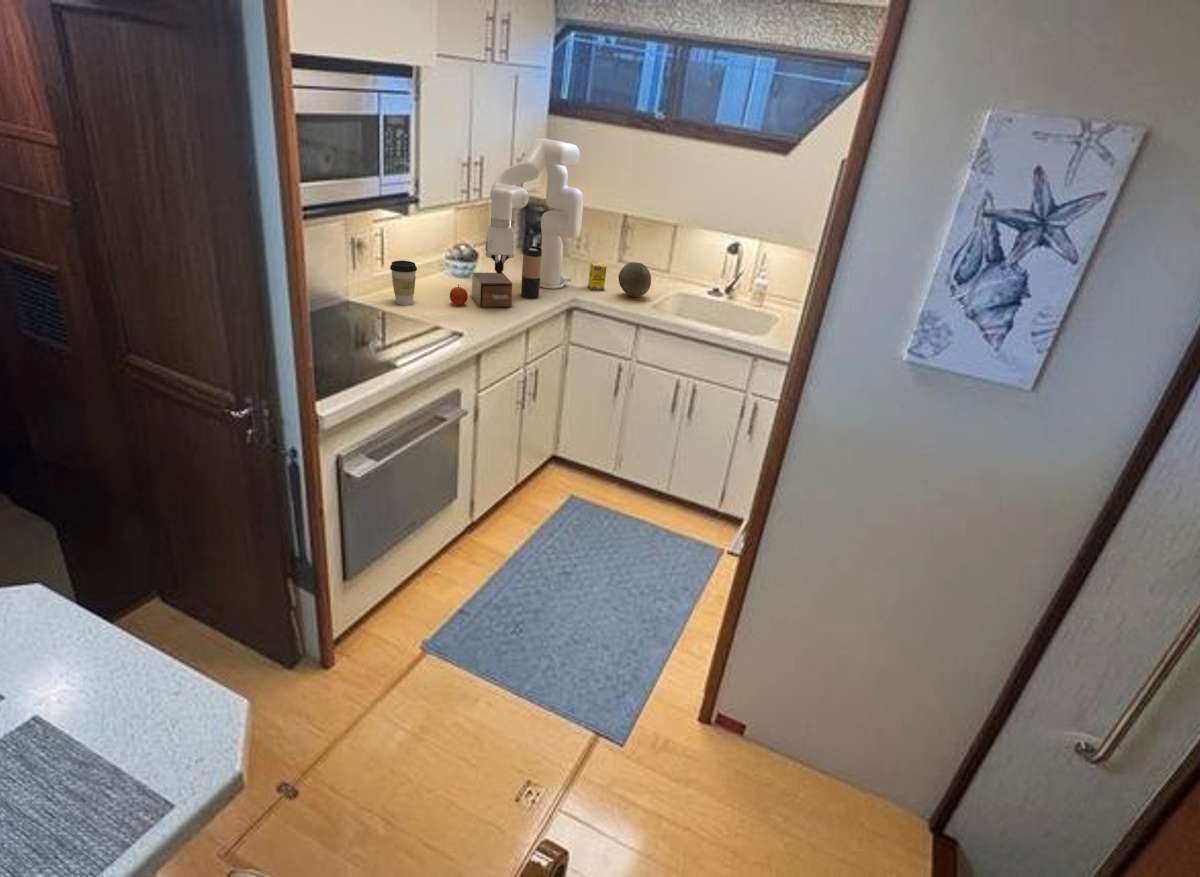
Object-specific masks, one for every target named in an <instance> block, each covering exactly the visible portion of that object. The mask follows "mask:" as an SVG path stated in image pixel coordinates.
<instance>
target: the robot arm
mask: <svg viewBox="0 0 1200 877" xmlns="http://www.w3.org/2000/svg"><path fill="white" fill-rule="evenodd" d="M580 153H581V152H580V149H579V147H578V146H577V145H576V144H573V143H568V142H565V141H562V140H555V139H548V138H544V137H543V138H541V137H540V138H536V139H534V140H533V141H532V143H531V144H530V146H529V147H528V149H527V150H526V152H525V154H524V155H523V156H522V158H521V160H520V162H519V163H516V164H514V165H511V166H510V167H508V168H506V169H505V170H503V171H501V173H499V174H498V176H497V178H496V179H495V180H494V182H493V184H492V186H491V188H490V192H489V196H490V200H491V207H490V208H491V210H490V211H491V212H490V215H491V216H490V225H488V226H487V230H486V236H485V246H484V247H485V248H484V249H485V255H484V256H485V257H486V258H489V259H492V260H493V261H494V272H495V273H498V274H499V273H500V274H502V273H503V271H504V268H505V267H504V265H505V263H506V261H507V260H509V259H513V258H514V257H515V255H514V254H515V235H514V228H513V225H516V220H513V219H512V218H513V209H523V208H525V207H526V206H527V204H528V203H529V200H530V196H529V192H528V191H527V189H525V188H524V187H521V186H517V185H518V184H522V183H523V184H524V183H527V182H528V183H529V182H532V181H535V180H537V179H538V178H539V177H540V175H541V174H542V171H543V170H544V168H545V169H546V175H547V176H546V192H545V193H546V194H545V201H546V202H545V204H546V205H547V206H548V207H549V208H552V209H556V210H560V211H566V212H568V213H565V212H560V211H554V210H548V211H545V212H543V214H542V215H541V218H540V230H541V245H540V246H541V247H540V248H541V249H542V258H541V275H540V286H539V288H544V289H550V290H551V289H552V290H554V289H562V288H563V287H565V286H564V285H565V282H569V283H570V282H571V281H572V277H571V276H565V275H563V274H562V270H563V269H562V268H563V267H562V266H563V257H564V255H563V254H564V243H563V240H562V238H566V239H567V238H568V239H577V238H578V237H579V236H580V234H581V231H582V224H583V211H584V193H583V192H582V191H581V190H580V189H579V188H576V187H571V186H569V185H568V178H569V173H568V169H567V167H568V168H573V167H576V166H577V165H578V164H579V161H580V155H581V154H580ZM499 256H500V258H499Z"/></svg>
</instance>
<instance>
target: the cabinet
mask: <svg viewBox="0 0 1200 877" xmlns="http://www.w3.org/2000/svg"><path fill="white" fill-rule="evenodd" d="M471 274H472V275H471V297H472V299H473V300H474V301H475V302H476V304H477V305H478V307H479V308H512V305H511V306H482V288H483V285H509V286H512V287H513V281H511V280H510V279H509V277H507V276H506V274H505V273H503V272H502V274H500V273H499V274H498V273H497V272H471ZM512 299H513V297H512V298H511V304H512V302H513V301H512Z"/></svg>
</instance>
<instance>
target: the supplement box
mask: <svg viewBox="0 0 1200 877" xmlns="http://www.w3.org/2000/svg"><path fill="white" fill-rule="evenodd" d="M606 275H607V266H606V265H605V263H603V262H600V263H599V262H590V264H589V272H588V283H587V287H588V288H589V289H590V290H591V291H602V292H604V291H605V284H606V277H607V276H606Z"/></svg>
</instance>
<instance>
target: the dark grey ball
mask: <svg viewBox="0 0 1200 877" xmlns="http://www.w3.org/2000/svg"><path fill="white" fill-rule="evenodd" d="M618 284H619V286H620V288H621V289H622V291H623V292H624V293H625V294H626V295H628V296H629V297H632V298H639V297H640V298H641V297H642V296H644V295H646V294H647V293H649V290H650V289H651V286H652V274H651V272H650V270H649V269H648V267H647V266H646V265H645V264H643V263H641V262H627V263H626V264H625V265H624V266H623V267H622V268H621V269H620V271H619V272H618Z"/></svg>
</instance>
